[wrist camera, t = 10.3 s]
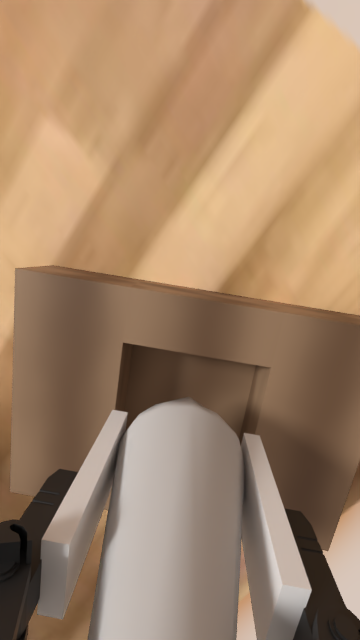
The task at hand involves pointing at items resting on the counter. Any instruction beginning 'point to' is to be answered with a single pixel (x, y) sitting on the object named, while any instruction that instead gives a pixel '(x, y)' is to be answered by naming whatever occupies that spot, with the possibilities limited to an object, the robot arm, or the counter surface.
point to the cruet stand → (185, 377)
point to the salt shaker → (172, 529)
